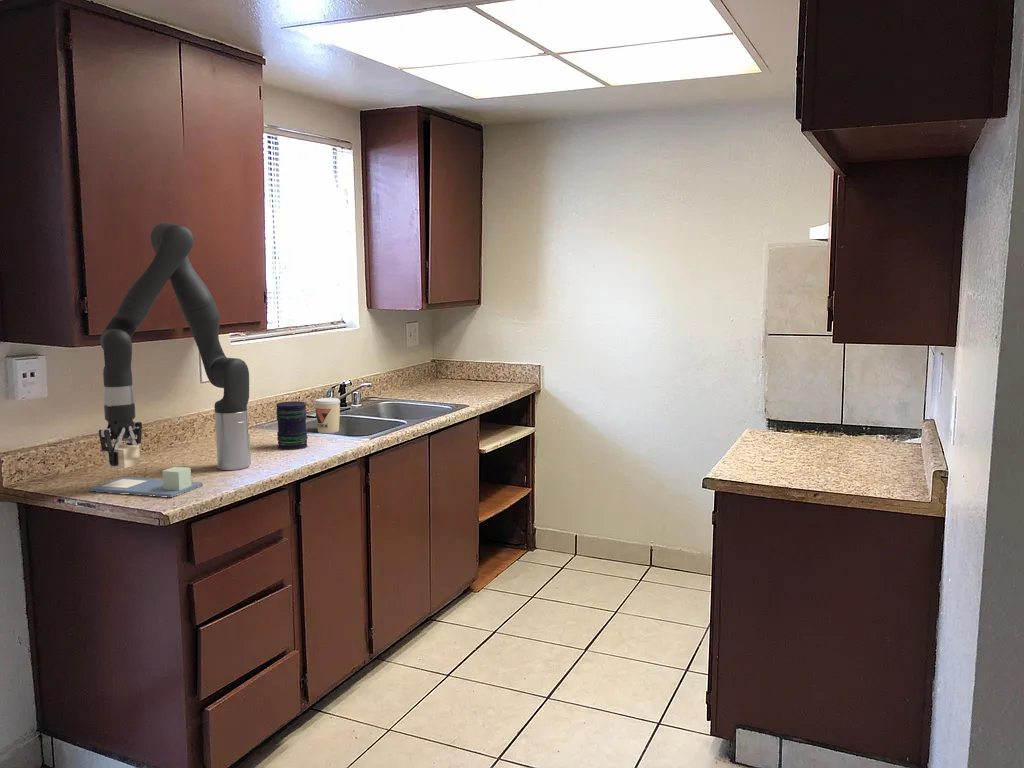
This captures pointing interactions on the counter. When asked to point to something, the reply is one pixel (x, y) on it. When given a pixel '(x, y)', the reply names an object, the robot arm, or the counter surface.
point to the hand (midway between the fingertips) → (123, 462)
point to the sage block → (176, 478)
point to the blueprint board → (139, 487)
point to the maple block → (125, 456)
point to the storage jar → (291, 425)
